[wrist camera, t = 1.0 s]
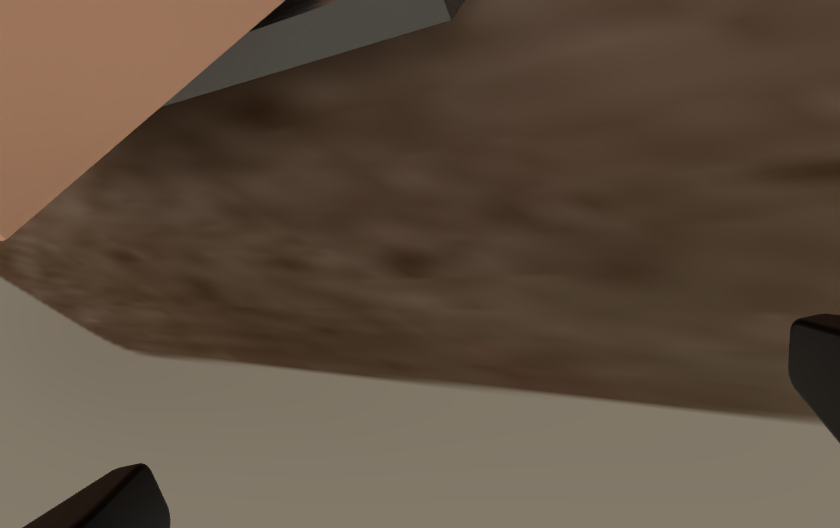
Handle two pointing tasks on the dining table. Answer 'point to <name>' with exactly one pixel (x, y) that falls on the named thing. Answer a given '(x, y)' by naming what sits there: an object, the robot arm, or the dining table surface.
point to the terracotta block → (95, 81)
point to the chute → (314, 37)
